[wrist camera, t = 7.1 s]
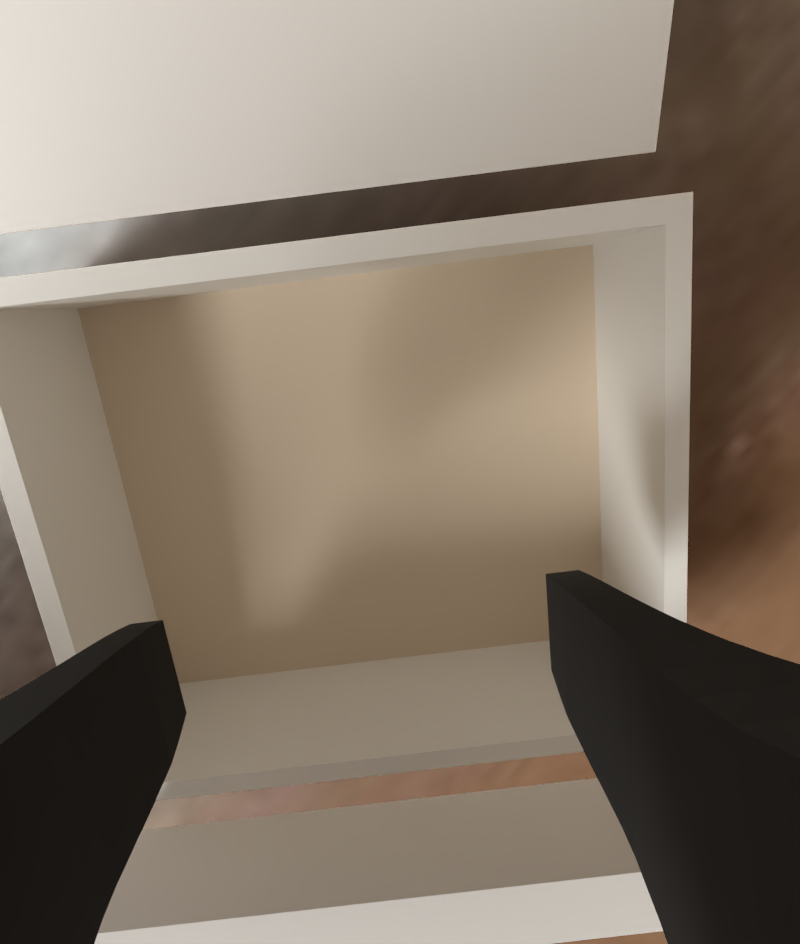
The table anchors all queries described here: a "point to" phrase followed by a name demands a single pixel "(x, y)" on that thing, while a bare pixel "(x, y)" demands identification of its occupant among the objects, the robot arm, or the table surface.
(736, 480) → the table surface
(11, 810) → the robot arm
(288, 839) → the flap
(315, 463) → the carton
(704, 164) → the table surface
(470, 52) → the flap
